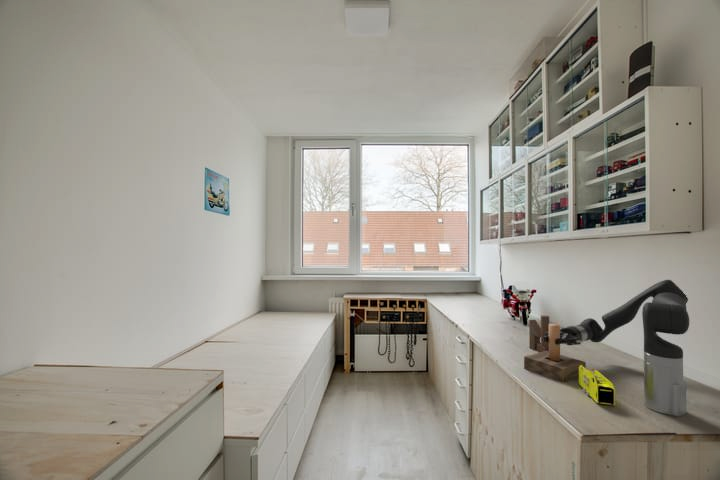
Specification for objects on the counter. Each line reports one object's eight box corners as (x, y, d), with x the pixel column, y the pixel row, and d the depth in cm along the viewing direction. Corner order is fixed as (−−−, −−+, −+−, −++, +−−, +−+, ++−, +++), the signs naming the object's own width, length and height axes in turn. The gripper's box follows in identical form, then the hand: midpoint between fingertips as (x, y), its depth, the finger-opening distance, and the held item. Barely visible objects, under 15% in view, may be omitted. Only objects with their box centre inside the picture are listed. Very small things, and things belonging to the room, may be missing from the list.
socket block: (585, 374, 132) (585, 361, 132) (563, 382, 124) (563, 368, 124) (546, 362, 146) (546, 350, 146) (524, 368, 138) (524, 356, 138)
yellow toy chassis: (577, 385, 122) (577, 363, 122) (595, 387, 120) (594, 364, 121) (595, 405, 106) (595, 379, 107) (616, 408, 105) (615, 381, 105)
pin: (562, 359, 135) (561, 325, 135) (556, 361, 133) (556, 326, 133) (552, 356, 138) (552, 323, 138) (546, 358, 136) (546, 324, 136)
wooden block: (535, 347, 168) (535, 312, 168) (551, 354, 157) (551, 316, 158) (529, 347, 167) (528, 312, 167) (545, 354, 157) (544, 316, 157)
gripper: (591, 348, 136) (568, 354, 128) (556, 339, 149) (533, 345, 140) (591, 329, 137) (568, 335, 128) (556, 322, 149) (533, 327, 140)
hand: (550, 340), depth 134 cm, fingers closed on pin, 4 cm apart
